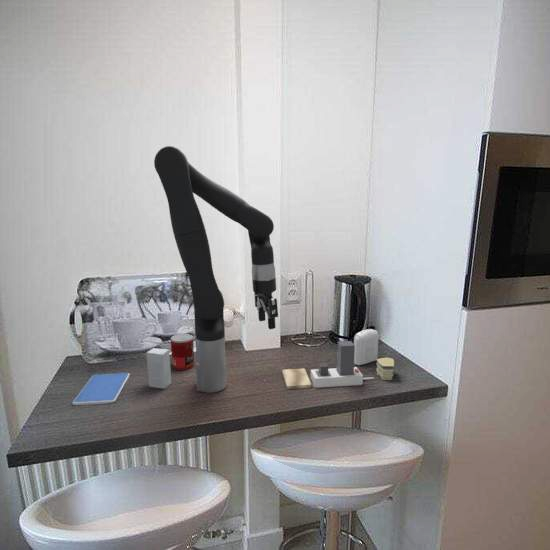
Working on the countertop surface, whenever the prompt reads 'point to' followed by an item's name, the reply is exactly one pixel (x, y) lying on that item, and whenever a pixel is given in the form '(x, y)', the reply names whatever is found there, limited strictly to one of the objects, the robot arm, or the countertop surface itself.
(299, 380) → the board
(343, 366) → the block
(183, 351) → the canned food
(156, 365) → the skincare box
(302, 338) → the countertop surface
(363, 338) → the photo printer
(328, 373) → the power strip
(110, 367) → the countertop surface
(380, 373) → the yellow layered block
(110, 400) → the tablet computer
